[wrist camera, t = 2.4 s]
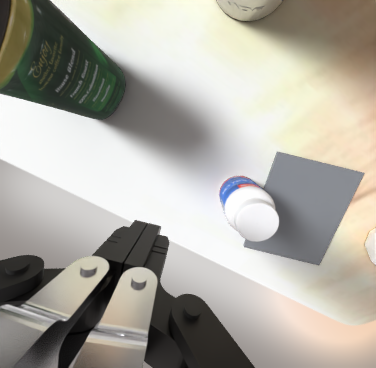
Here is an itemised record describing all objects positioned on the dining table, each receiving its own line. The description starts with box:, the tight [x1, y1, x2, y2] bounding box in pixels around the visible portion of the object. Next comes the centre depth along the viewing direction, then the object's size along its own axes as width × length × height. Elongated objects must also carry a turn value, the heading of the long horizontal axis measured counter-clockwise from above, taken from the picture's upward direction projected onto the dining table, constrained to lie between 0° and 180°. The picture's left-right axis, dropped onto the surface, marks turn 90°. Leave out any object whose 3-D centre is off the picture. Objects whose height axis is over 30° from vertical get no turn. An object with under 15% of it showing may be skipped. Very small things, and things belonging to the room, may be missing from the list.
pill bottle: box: [219, 176, 279, 242], centre depth 21 cm, size 6×5×10 cm
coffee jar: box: [0, 0, 125, 119], centre depth 15 cm, size 10×8×19 cm
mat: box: [244, 152, 364, 265], centre depth 26 cm, size 15×12×1 cm
